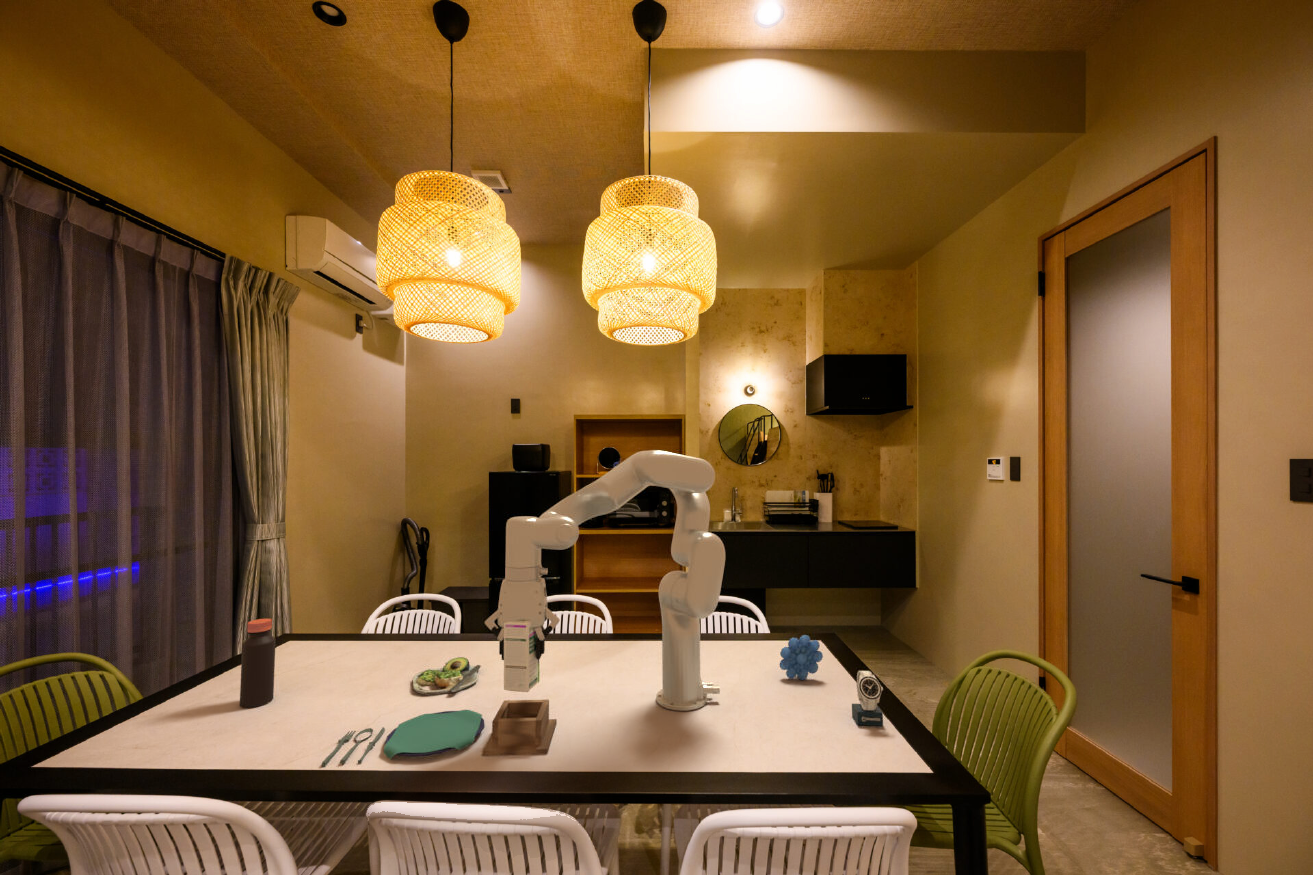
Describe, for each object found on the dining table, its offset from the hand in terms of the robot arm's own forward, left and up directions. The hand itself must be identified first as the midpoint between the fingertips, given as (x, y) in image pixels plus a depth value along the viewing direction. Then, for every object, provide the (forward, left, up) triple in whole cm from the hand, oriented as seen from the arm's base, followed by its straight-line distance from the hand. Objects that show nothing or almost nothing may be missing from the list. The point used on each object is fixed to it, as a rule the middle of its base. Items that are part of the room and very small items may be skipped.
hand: (522, 656), depth 115 cm
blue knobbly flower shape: (-70, -29, -17) cm, 78 cm away
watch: (-77, -3, -17) cm, 79 cm away
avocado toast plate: (+27, -33, -18) cm, 46 cm away
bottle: (+70, -22, -17) cm, 75 cm away
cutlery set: (+23, -1, -18) cm, 30 cm away
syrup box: (0, 0, -6) cm, 6 cm away
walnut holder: (0, 0, -17) cm, 17 cm away
